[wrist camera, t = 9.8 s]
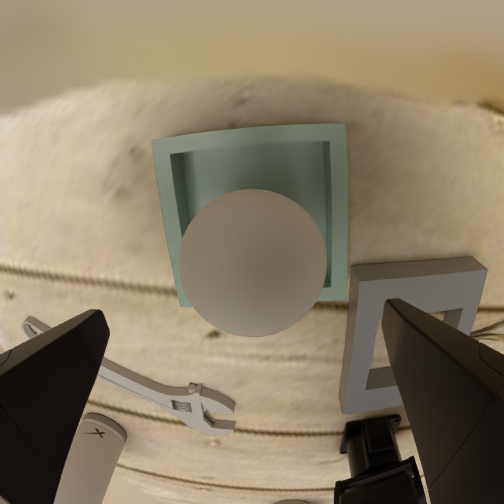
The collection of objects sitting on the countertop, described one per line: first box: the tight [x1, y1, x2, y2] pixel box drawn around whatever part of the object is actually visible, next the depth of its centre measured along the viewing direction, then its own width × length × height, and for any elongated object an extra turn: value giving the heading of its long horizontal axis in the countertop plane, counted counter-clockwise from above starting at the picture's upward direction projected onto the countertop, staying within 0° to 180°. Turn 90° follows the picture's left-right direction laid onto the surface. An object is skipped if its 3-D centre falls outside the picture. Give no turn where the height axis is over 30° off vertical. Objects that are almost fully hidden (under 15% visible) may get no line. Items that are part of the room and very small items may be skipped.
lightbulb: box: [179, 189, 327, 337], centre depth 15 cm, size 6×6×11 cm
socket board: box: [339, 257, 488, 415], centre depth 23 cm, size 14×11×2 cm
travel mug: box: [54, 413, 127, 504], centre depth 24 cm, size 6×7×20 cm
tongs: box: [469, 321, 504, 341], centre depth 24 cm, size 4×13×2 cm, turn 98°
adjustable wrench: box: [22, 317, 235, 435], centre depth 28 cm, size 25×6×2 cm, turn 63°
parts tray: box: [152, 123, 349, 307], centre depth 20 cm, size 11×11×3 cm
